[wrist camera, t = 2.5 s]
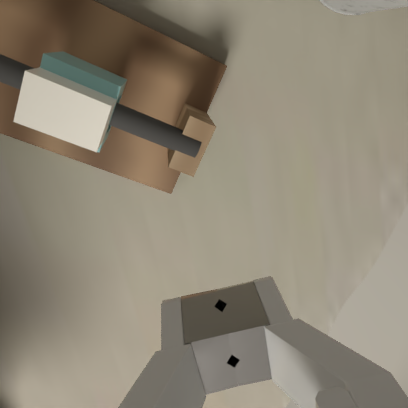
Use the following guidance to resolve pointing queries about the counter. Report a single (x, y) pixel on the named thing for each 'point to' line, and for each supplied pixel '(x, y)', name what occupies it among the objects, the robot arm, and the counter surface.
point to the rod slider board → (122, 66)
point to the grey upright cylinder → (362, 5)
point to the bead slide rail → (118, 115)
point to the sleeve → (69, 100)
